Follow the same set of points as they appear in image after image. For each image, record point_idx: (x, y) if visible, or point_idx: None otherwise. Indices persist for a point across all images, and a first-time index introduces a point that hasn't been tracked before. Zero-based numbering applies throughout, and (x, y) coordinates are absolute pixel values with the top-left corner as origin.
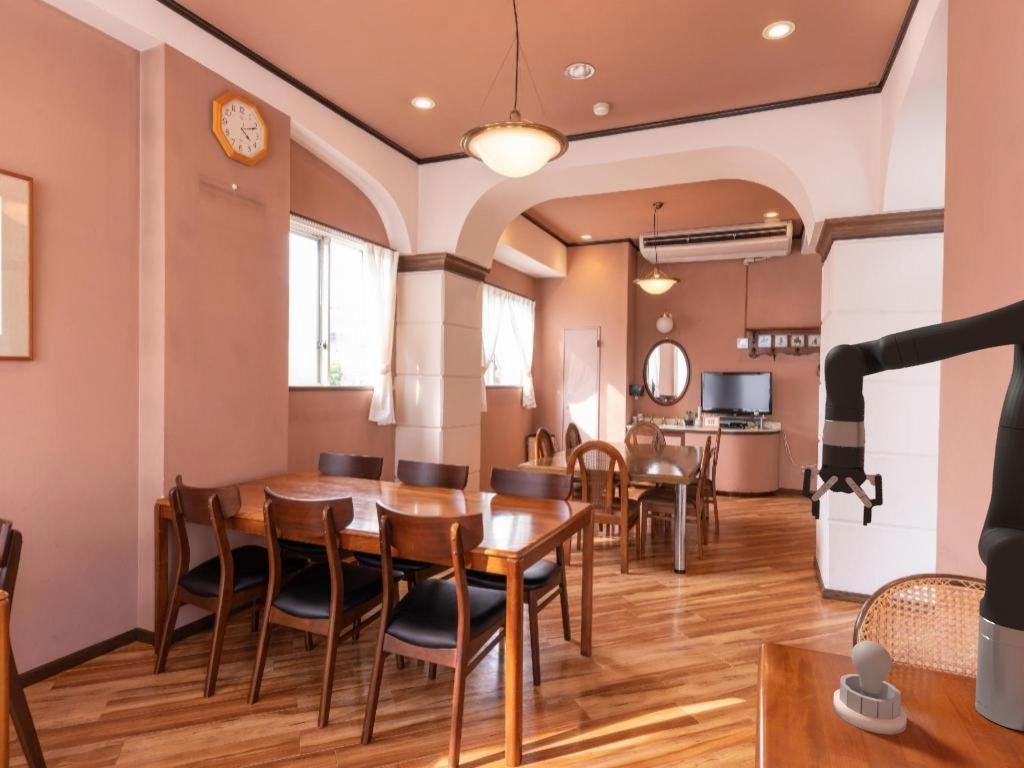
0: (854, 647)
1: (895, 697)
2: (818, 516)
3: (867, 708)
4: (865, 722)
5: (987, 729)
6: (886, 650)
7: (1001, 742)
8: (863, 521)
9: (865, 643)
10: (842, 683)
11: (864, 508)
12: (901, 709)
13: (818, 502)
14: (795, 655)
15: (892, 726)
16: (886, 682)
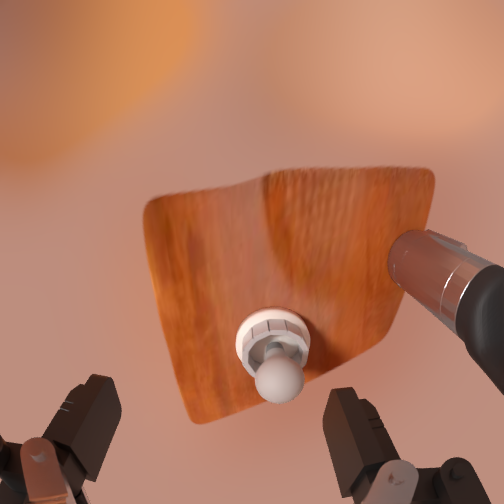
0: (259, 389)
1: (300, 364)
2: (116, 424)
3: None
4: None
5: (383, 298)
6: (300, 385)
7: (386, 317)
8: (327, 437)
9: (273, 398)
10: (244, 364)
11: (344, 493)
12: (306, 338)
13: (91, 479)
14: (180, 222)
15: None
16: (296, 335)
